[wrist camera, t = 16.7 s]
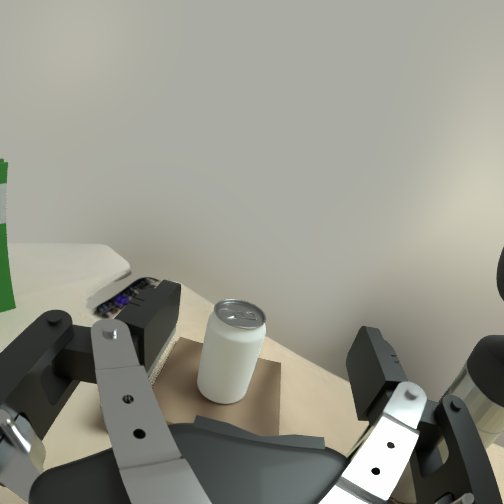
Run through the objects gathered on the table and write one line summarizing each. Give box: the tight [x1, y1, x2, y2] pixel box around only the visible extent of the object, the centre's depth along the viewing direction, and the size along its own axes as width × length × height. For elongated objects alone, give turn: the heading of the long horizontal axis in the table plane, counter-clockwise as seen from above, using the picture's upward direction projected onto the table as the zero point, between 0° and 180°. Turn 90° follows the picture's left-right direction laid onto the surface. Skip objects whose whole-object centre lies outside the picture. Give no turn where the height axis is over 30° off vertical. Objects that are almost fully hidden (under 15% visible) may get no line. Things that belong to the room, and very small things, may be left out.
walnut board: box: [152, 337, 281, 436], centre depth 33 cm, size 16×16×1 cm
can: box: [197, 299, 266, 404], centre depth 31 cm, size 6×6×12 cm
